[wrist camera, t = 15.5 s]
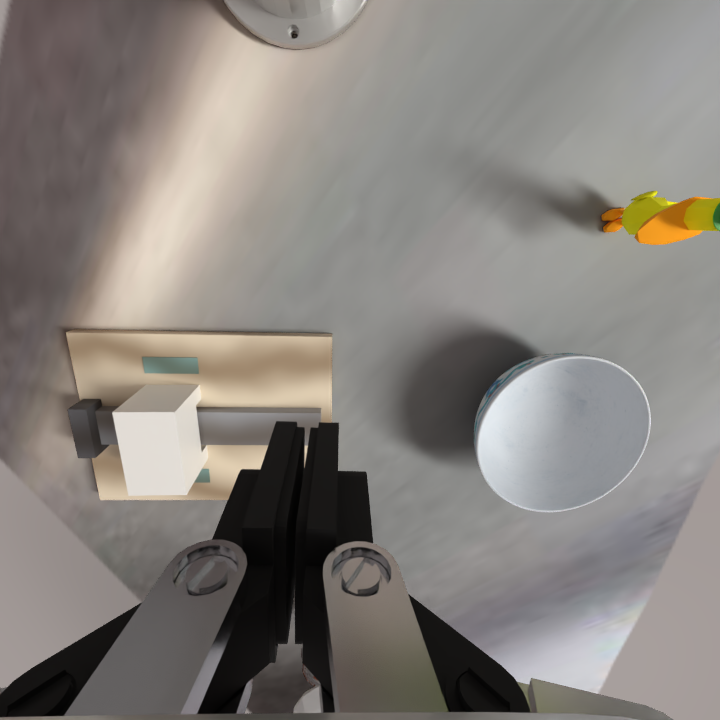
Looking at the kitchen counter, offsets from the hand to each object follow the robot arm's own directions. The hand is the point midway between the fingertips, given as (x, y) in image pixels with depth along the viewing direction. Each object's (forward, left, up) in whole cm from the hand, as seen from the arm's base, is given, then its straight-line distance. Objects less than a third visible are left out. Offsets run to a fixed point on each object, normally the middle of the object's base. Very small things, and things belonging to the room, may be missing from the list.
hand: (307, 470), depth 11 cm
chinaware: (+11, +20, -29) cm, 36 cm away
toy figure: (-7, +25, -29) cm, 39 cm away
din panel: (+13, -12, -28) cm, 33 cm away
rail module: (+13, -15, -27) cm, 33 cm away
